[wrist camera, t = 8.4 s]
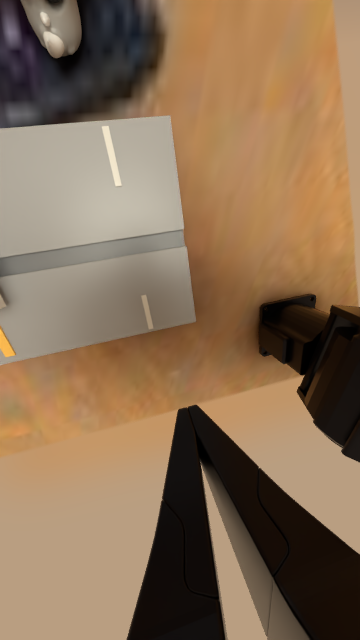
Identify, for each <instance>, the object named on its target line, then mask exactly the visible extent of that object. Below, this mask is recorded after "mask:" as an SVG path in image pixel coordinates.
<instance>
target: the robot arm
mask: <svg viewBox="0 0 360 640" xmlns="http://www.w3.org/2000/svg"><path fill="white" fill-rule="evenodd" d="M310 298H311V299H310ZM315 303H316V296H315V295H314V294H307V295H302V296H298V297H293V298H288V299H284V300H279V301H275V302H270V303H265V304H263V305H262V306H261V307H260V325H259V345H260V354H261V355H262V356H269V355H273V356H274V357H275V358H276V359H277V360H279V361H280V362H281V363H283V364H288V365H289V366H290V367H291V368H293V369H294V370H295V371H296V372H298V373H299V374H300V375H305V376H304V378H303V380H302V383H301V385H300V386H299V387H298V389H297V393H298V395H299V397H300V398H301V400H302V401H303V403H304V405H305V406H306V408H307V410H308V411H309V413H310V414H311V416H312V418H313V419H314V420H313V423H314V424H315V425H316V427H317V428H318V429H320V430H321V431H322V432H323V433H324V434H325V435H326V436H327V437H328V438H329V439H330V440H331V441H333V442H334V443H335V444H337V445H339V446H340V447H342V448H343V449H342V450H341V452H342V453H343V454H344V455H345V456H347V457H349V458H351V459H354V460H356V461H358V462H360V307H352V306H340V305H332V306H331V309H330V314H328V313H325V312H323V311H320V310H317V309H315ZM265 307H267V308H266V310H264V309H265ZM264 351H265V352H264ZM200 462H201V463H200ZM201 465H202V468H203V471H204V473H205V476H206V478H207V481H208V483H209V486H210V489H211V491H212V494H213V497H214V499H215V502H216V505H217V507H218V510H219V513H220V515H221V518H222V521H223V523H224V526H225V528H226V531H227V533H228V536H229V539H230V542H231V544H232V547H233V550H234V552H235V555H236V557H237V560H238V563H239V565H240V568H241V571H242V573H243V576H244V579H245V581H246V584H247V587H248V589H249V592H250V594H251V597H252V599H253V602H254V605H255V608H256V610H257V613H258V616H259V618H260V621H261V623H262V626H263V629H264V631H265V634H266V636H267V637H268V638H267V639H268V640H360V554H358V553H357V552H356V551H354V550H353V549H352V548H351V547H349V546H348V545H347V544H346V543H345V542H344V541H342V540H341V539H340V538H339V537H338V536H336V535H335V534H334V533H333V532H332V531H330V530H329V529H328V528H327V527H326V526H324V525H323V524H322V523H321V522H320V521H318V520H317V519H316V518H315V517H314V516H312V515H311V514H310V513H309V512H308V511H306V510H305V509H304V508H303V507H302V506H300V505H299V504H298V503H297V502H295V500H293V499H292V498H291V497H290V496H289V495H288V494H287V493H286V492H284V491H283V490H282V489H281V488H280V487H279V486H278V485H277V484H276V483H275V482H274V481H273V480H272V479H271V478H270V477H269V476H268V475H267V474H265V472H264V471H263V470H262V469H261V468H259V467H258V466H257V464H255V462H254V461H253V460H252V459H250V458H249V456H248V455H246V453H245V452H244V451H243V450H242V449H240V448H239V446H238V445H237V444H236V443H234V441H233V440H232V439H231V438H229V436H228V435H227V434H226V433H225V432H223V431H222V429H221V428H219V426H217V424H216V423H215V422H214V421H212V419H211V418H210V417H209V416H208V415H207V414H205V412H204V411H203V410H202V409H201V408H199V406H197V405H192V406H189V407H188V408H187V407H185V408H181V409H179V410H178V412H177V418H176V424H175V429H174V435H173V440H172V446H171V452H170V457H169V462H168V468H167V474H166V479H165V485H164V490H163V496H162V501H161V506H160V512H159V517H158V522H157V527H156V531H155V537H154V541H153V544H152V548H151V553H150V556H149V560H148V564H147V568H146V571H145V575H144V579H143V582H142V586H141V590H140V593H139V597H138V600H137V604H136V608H135V611H134V615H133V619H132V622H131V626H130V629H129V633H128V637H127V640H228V639H227V633H226V627H225V620H224V614H223V607H222V600H221V594H220V587H219V581H218V575H217V567H216V561H215V555H214V548H213V541H212V535H211V528H210V522H209V515H208V508H207V502H206V495H205V489H204V482H203V476H202V469H201Z"/></svg>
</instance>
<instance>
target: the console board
mask: <svg viewBox="0 0 360 640" xmlns="http://www.w3.org/2000/svg"><path fill="white" fill-rule="evenodd" d="M183 229H184V222H183V214H182V206H181V198H180V190H179V182H178V174H177V166H176V158H175V150H174V142H173V134H172V126H171V118H170V116H157V117H144V118H131V119H119V120H106V121H93V122H80V123H68V124H55V125H42V126H29V127H16V128H4V129H0V295H1V297H2V298H3V300H4V302H5V304H6V307H4V308H2V309H0V365H2V364H7V363H12V362H16V361H21V360H25V359H30V358H34V357H39V356H43V355H48V354H52V353H57V352H61V351H66V350H71V349H75V348H80V347H84V346H89V345H93V344H98V343H102V342H107V341H111V340H116V339H120V338H125V337H129V336H134V335H139V334H143V333H148V332H152V331H157V330H161V329H166V328H170V327H175V326H179V325H184V324H188V323H193V322H196V317H195V309H194V301H193V293H192V285H191V277H190V269H189V261H188V253H187V246H185V243H184V235H183Z"/></svg>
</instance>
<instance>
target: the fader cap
mask: <svg viewBox="0 0 360 640" xmlns="http://www.w3.org/2000/svg"><path fill="white" fill-rule="evenodd" d="M4 307H6V304H5V302H4V300H3V298H2V297H1V295H0V309H2V308H4Z"/></svg>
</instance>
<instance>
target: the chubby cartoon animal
mask: <svg viewBox="0 0 360 640" xmlns="http://www.w3.org/2000/svg"><path fill="white" fill-rule="evenodd" d="M20 1H21V3H22V5H23V7H24V10H25V12H26V15H27V17H28V20H29V22H30V24H31V26H32V28H33V30H34V31H35V33H36V35H37V36H38V38H39V40H40V42H41V44H42V46H43V47H45V48H46V49H47V50H48V52H49V53H50V55H51V56H52V57H54V58H59V57H61V56H67V55H70V54H71V55H72V54H74V53H75V51H77V49H78V47H79V45H80V42H81V36H82V29H81V20H80V15H79V10H78V5H77V0H20Z"/></svg>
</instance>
